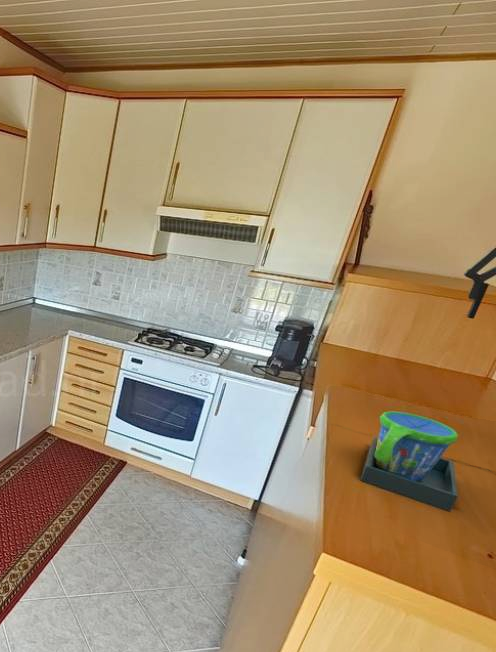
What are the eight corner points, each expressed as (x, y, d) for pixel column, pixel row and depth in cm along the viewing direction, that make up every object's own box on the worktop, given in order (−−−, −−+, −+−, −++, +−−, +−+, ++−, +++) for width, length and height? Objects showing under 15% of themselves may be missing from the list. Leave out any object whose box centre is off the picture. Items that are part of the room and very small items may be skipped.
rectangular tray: (446, 475, 93) (453, 461, 92) (450, 511, 80) (458, 496, 79) (368, 450, 100) (374, 437, 99) (360, 480, 87) (366, 466, 86)
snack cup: (397, 492, 83) (422, 438, 80) (339, 461, 93) (359, 412, 89) (456, 484, 88) (482, 434, 85) (396, 455, 97) (416, 409, 94)
